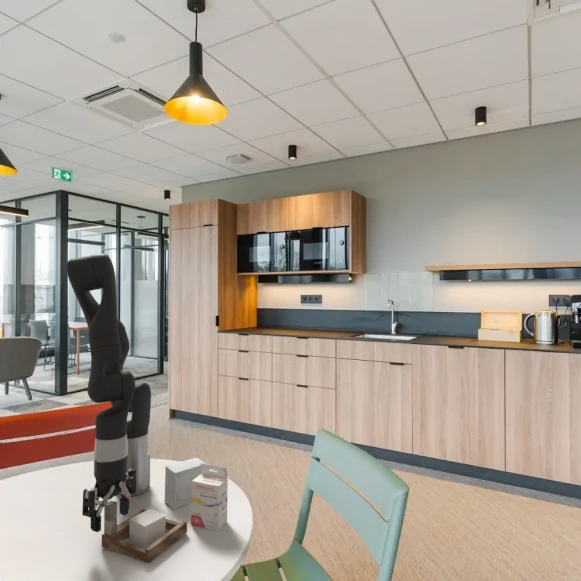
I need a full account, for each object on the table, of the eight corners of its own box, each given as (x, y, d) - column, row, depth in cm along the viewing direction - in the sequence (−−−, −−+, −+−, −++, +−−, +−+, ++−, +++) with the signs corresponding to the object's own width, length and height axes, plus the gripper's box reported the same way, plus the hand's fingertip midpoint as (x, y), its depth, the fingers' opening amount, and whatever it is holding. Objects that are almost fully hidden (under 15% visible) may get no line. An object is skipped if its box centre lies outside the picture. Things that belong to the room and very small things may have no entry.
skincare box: (174, 510, 119) (174, 472, 119) (164, 501, 124) (164, 465, 124) (206, 498, 126) (207, 462, 126) (195, 490, 131) (196, 456, 131)
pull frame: (142, 519, 113) (143, 482, 113) (186, 532, 107) (187, 493, 107) (101, 546, 101) (102, 505, 101) (148, 563, 95) (149, 519, 95)
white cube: (129, 543, 103) (129, 518, 103) (149, 532, 108) (150, 508, 108) (144, 552, 100) (145, 526, 100) (165, 540, 104) (165, 515, 105)
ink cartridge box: (189, 525, 111) (190, 469, 111) (199, 516, 116) (200, 462, 116) (219, 531, 108) (219, 474, 108) (228, 522, 113) (228, 466, 113)
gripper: (122, 442, 110) (121, 505, 110) (74, 462, 97) (73, 533, 97) (144, 447, 107) (144, 511, 107) (98, 468, 94) (97, 541, 94)
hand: (110, 522), depth 102 cm, fingers open, 8 cm apart
